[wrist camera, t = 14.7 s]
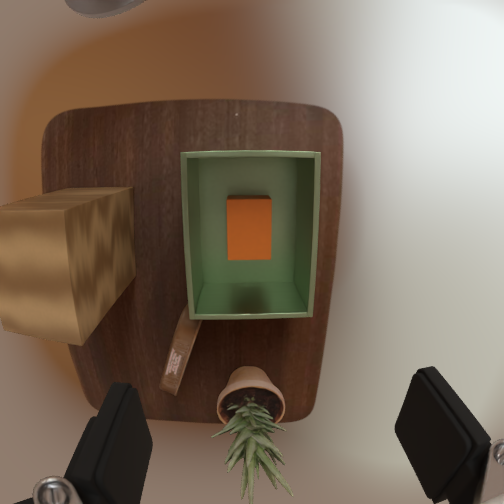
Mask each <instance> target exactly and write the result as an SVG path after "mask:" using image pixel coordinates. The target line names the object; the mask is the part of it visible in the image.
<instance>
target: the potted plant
mask: <svg viewBox="0 0 504 504" xmlns="http://www.w3.org/2000/svg"><path fill="white" fill-rule="evenodd" d="M284 413H285V402H284V398H283V395H282V394H281V392H280V391H279V389H278V388H276V387H275V386H274V385H273V384H272V383H271V381H270V379H269V378H268V376H267V375H266V373H265V372H264V371H263V370H261V369H260V368H257V367H255V366H243V367H240V368H238V369H236V370H235V371H234V372H233V373H232V374H231V375H230V378H229V381H228V384H227V386H226V388H225V389H224V390H223V391H222V392H221V393H220V395H219V398H218V403H217V414H218V416H219V419H220V420H221V421H222V422H223V423H224V424H225V425H226V426H225V427H224V428H223V429H222V431H220V432H218V433H216V434H215V435H213V436H212V437H211V438H213V437H215V436H217V435H220V434H223V433H225V432H228V431H230V430H232V429H233V430H232V431H231V432H230V435H231V434H233V433H236V432H238V433H237V436H236V438H235V440H234V442H233V443H232V445H231V447H230V449H229V451H228V456H227V458H226V460H225V464H226V463H227V462H228V461H229V460H230V459H231V458H232V459H231V461H230V463H229V466H228V469H227V473H228V472H230V470H231V469H232V468H233V467H234V465H235V464H236V463H237V462H238V461H239V460H240V459H241V458H244V466H243V473H242V482H241V499H243V496H244V493H245V490H246V487H247V483H248V495H249V496H248V497H249V504H253V487H254V467H255V468H256V471H257V477H258V479H259V464H258V462H259V463H260V464H261V466H262V467H263V469H264V471H265V472H266V474H267V476H268V477H269V479H270V480H271V482H272V484H273V486H274V487H275V489H277V486H276V482H275V477H276V479H277V480H278V481H279V482H280V483H281V484H282V485H283V486H284V488H285V489H286V490H287V491H288V492H289V494H290V495H291V496H292V497H293V494H292V491H291V489H290V487H289V485H288V484H287V482H286V481H285V479H284V478H283V476H282V475H281V473H280V472H279V471H278V469H277V468H276V466H275V465H276V461H275V459H274V457H275V458H276V459H277V460H279V461H280V462H281V463H282V464H283V465H285V463H284V461H283V460H282V458H281V457H280V456H279V455H281V456H282V457H283V455H282V453H281V452H280V451H279V450H278V449H277V447H276V446H274V445H273V444H272V443H273V441H272V439H271V438H270V436H269V435H268V433H267V432H272V433H274V432H275V431H274V430H273V429H272V428H277V429H281V430H283V431H287V430H285V429H284V428H283V427H281V426H279V425H277V423H278V422H279V421H280V420H281V418H282V417H283V415H284ZM269 440H270V441H271V442H272V443H271V442H270V441H269ZM264 450H266V451H267V452H268V453H269V455H270V456H271V458H272V460H273V462H274V463H275V465H274V464H273V463H272V462H271V460H270V459H269V458H268V457H267V455H266V454H265V452H264ZM273 456H274V457H273ZM274 476H275V477H274Z"/></svg>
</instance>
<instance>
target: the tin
mask: <svg viewBox="0 0 504 504" xmlns="http://www.w3.org/2000/svg"><path fill="white" fill-rule="evenodd" d="M202 320H203V319H190V317H189V306H188V303H187V305H186V306H185V308H184V309H183V311H182V313H181V316H180V318H179V321H178V324H177V327H176V330H175V333H174V336H173V339H172V342H171V345H170V348H169V352H168V355H167V358H166V362H165V365H164V369H163V373H162V377H161V381H160V385H159V388H160V389H161V390H163V391H165V392H168V393H171V394H173V395H175V396H176V395H177V392H178V389H179V386H180V383H181V380H182V377H183V374H184V372H185V369H186V366H187V363H188V360H189V357H190V354H191V351H192V349H193V346H194V343H195V340H196V337H197V334H198V331H199V328H200V326H201V323H202Z"/></svg>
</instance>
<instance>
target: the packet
mask: <svg viewBox="0 0 504 504" xmlns="http://www.w3.org/2000/svg"><path fill="white" fill-rule="evenodd" d="M226 205H227V254H228V260H271V234H272V199H271V198H270V197H269V195H228V196H227V200H226Z"/></svg>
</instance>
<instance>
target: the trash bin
mask: <svg viewBox="0 0 504 504" xmlns="http://www.w3.org/2000/svg"><path fill="white" fill-rule="evenodd" d="M320 158H321V153H320V152H304V151H201V152H181V193H182V218H183V237H184V254H185V268H186V282H187V294H188V306H189V317H190V319H270V318H297V317H312V316H313V305H314V292H315V279H316V263H317V246H318V226H319V201H320ZM228 195H269V197H270V198H271V199H272V234H271V260H228V254H227V205H226V200H227V196H228Z"/></svg>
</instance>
